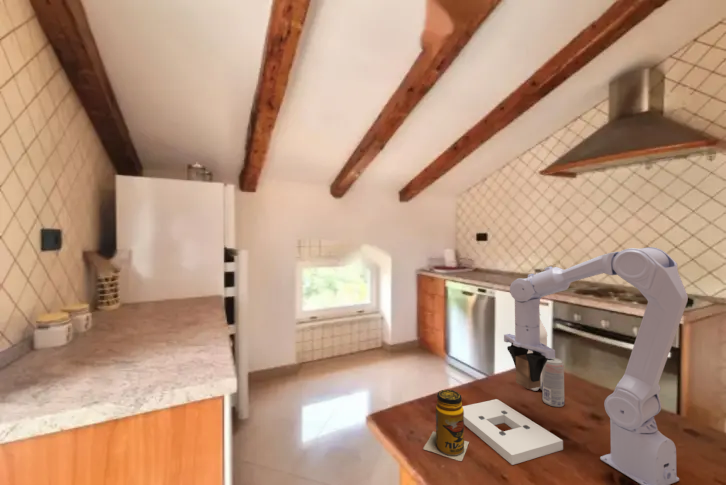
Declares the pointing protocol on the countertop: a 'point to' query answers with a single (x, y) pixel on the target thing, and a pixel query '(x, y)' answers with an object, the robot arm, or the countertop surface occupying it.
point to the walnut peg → (524, 373)
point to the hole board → (510, 432)
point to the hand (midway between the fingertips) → (527, 377)
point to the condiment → (448, 427)
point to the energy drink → (553, 382)
